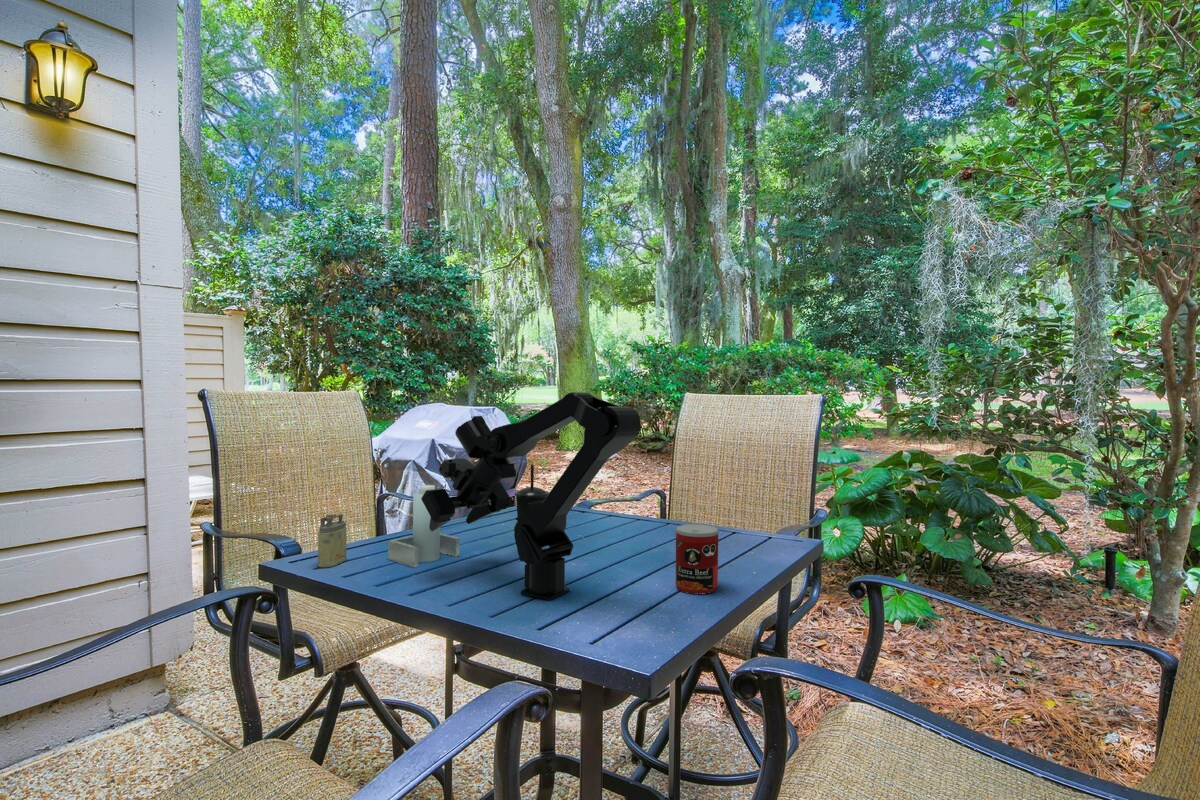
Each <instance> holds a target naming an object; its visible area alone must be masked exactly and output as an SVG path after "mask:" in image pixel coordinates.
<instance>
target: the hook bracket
mask: <svg viewBox="0 0 1200 800" xmlns="http://www.w3.org/2000/svg"><path fill="white" fill-rule="evenodd" d="M387 542H388V545H387V547H388V550H387V552H388V553H387V559H388V560H389V561H392V562H395V563H398V564H402V565H404V566H408V567H411V568H415V569H416V568H418V567H419V562H418V547H416V546H413V535H410V536H406V537H405V536H404V537H399V538H396V539H391V540H388V541H387ZM460 542H461V539H460V537H457V536H452V535H449V534H445V533H441V532H440V554H443V555H447V554H448V555H447V556H450V555H452V556H451V557H454V556H455V557H454V558H458V557H457V556H459V557H460V550H461V549H460V546H461V545H460Z"/></svg>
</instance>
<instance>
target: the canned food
mask: <svg viewBox="0 0 1200 800" xmlns="http://www.w3.org/2000/svg"><path fill="white" fill-rule="evenodd" d="M718 571H719V529H718V528H717V527H715V526H713V525H707V524H696V523H695V524H693V523H691V524H682V525H679V526H677V527H676V530H675V586H676V589H677V588H678V589H677V590H678V591H680V590H681V591H680V592H682V591H683V592H682V593H685V592H688V593H687V594H689V593H698V594H700V593H701V595H703V594H702V593H709V592H712V593H714V592H715V590H716V591H717V589H716V588H718V585H719V584H718V582H719V580H718V579H719V575H718V573H719V572H718ZM713 591H714V592H713ZM698 594H697V595H698ZM709 594H710V593H709Z"/></svg>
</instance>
